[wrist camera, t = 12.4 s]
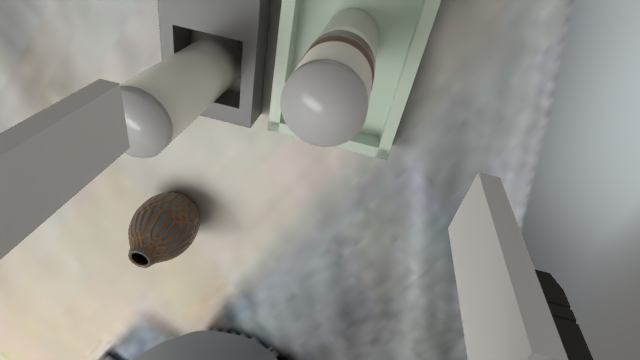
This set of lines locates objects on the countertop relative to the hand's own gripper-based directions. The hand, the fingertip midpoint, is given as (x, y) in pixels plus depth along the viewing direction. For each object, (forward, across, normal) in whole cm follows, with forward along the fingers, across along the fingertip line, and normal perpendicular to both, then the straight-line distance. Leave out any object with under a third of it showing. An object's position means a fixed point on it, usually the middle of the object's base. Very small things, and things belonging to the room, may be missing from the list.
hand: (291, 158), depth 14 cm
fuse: (+20, -11, -5) cm, 23 cm away
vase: (+20, -15, -24) cm, 35 cm away
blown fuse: (+20, 0, -1) cm, 20 cm away
